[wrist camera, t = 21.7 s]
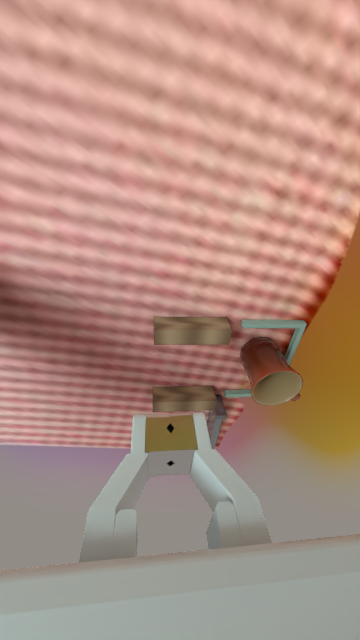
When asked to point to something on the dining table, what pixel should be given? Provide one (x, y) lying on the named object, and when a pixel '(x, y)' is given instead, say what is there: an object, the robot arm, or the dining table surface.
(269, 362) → the mug
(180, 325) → the wooden blocks
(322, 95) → the dining table surface
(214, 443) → the gate
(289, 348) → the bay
